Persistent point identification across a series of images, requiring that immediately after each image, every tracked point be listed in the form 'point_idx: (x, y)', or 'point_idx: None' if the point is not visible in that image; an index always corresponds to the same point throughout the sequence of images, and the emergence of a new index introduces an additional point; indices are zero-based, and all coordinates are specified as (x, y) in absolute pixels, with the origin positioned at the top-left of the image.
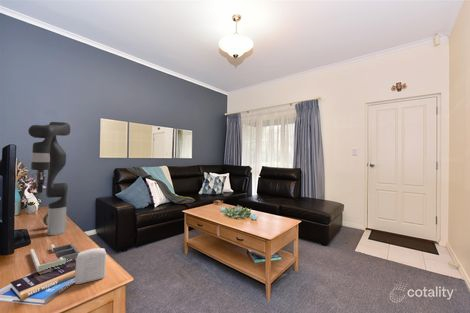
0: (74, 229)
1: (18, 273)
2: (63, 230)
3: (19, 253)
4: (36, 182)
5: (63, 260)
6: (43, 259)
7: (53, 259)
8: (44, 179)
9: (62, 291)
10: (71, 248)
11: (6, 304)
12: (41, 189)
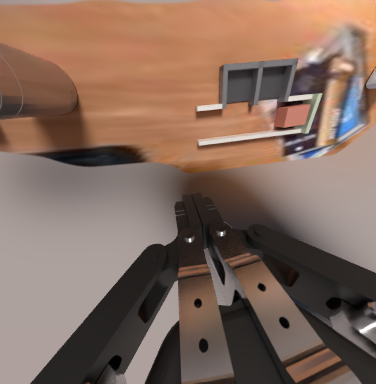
0: (11, 18)
1: (265, 152)
2: (55, 66)
3: (181, 158)
4: (172, 284)
5: (319, 97)
6: (286, 126)
7: (301, 112)
8: (274, 279)
9: (366, 105)
10: (258, 72)
11: (329, 154)
12: (214, 205)
